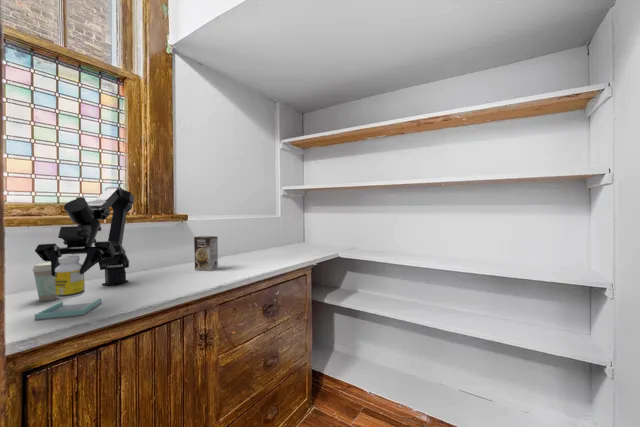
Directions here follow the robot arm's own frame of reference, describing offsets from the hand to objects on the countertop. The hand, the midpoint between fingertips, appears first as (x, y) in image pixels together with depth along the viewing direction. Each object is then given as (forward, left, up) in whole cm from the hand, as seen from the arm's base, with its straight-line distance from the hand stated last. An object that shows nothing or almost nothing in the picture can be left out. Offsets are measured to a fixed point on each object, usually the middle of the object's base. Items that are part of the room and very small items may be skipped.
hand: (67, 274), depth 82 cm
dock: (0, +1, -11) cm, 11 cm away
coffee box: (+9, +58, -11) cm, 59 cm away
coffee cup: (-20, +11, -11) cm, 25 cm away
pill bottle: (-1, +1, -7) cm, 7 cm away
